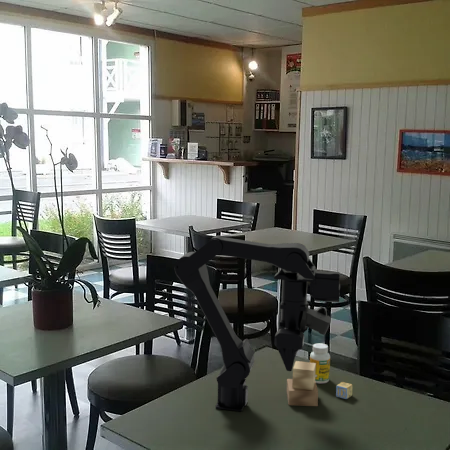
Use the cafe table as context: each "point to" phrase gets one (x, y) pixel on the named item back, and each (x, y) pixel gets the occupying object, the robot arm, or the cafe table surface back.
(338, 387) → the alphabet block
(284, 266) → the robot arm
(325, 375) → the supplement bottle
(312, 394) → the walnut base block
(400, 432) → the cafe table surface
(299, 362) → the maple cube
